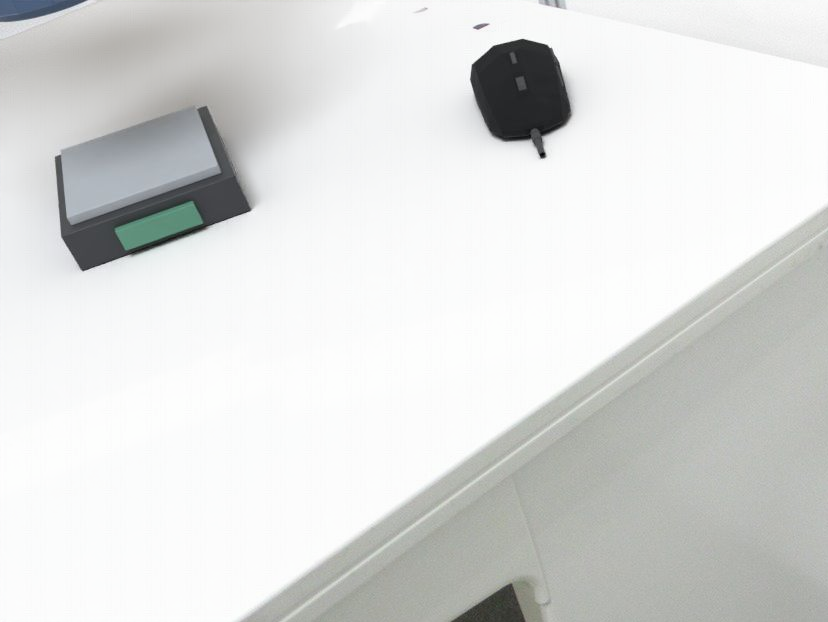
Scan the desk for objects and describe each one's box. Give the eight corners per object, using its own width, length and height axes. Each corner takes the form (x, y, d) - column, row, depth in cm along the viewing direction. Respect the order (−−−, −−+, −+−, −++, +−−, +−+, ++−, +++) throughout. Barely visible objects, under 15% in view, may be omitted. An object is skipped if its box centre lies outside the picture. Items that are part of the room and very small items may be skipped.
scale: (72, 188, 78) (49, 148, 76) (221, 137, 80) (202, 97, 78) (82, 275, 67) (55, 231, 65) (252, 213, 70) (232, 169, 68)
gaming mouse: (495, 170, 68) (478, 110, 66) (471, 85, 79) (456, 30, 77) (591, 145, 69) (578, 84, 66) (554, 63, 80) (542, 8, 77)
